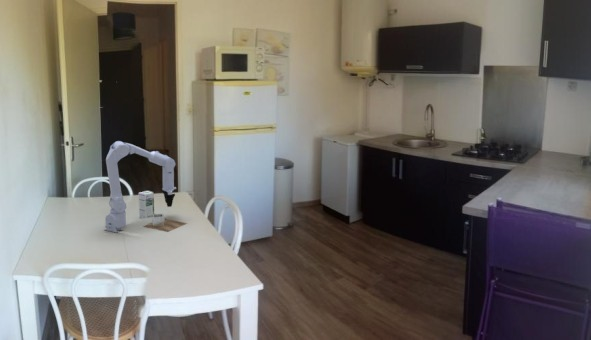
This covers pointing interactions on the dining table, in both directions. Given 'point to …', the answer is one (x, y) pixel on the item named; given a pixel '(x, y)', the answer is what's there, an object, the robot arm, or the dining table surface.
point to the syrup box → (146, 204)
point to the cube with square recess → (158, 220)
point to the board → (167, 225)
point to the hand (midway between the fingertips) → (168, 204)
